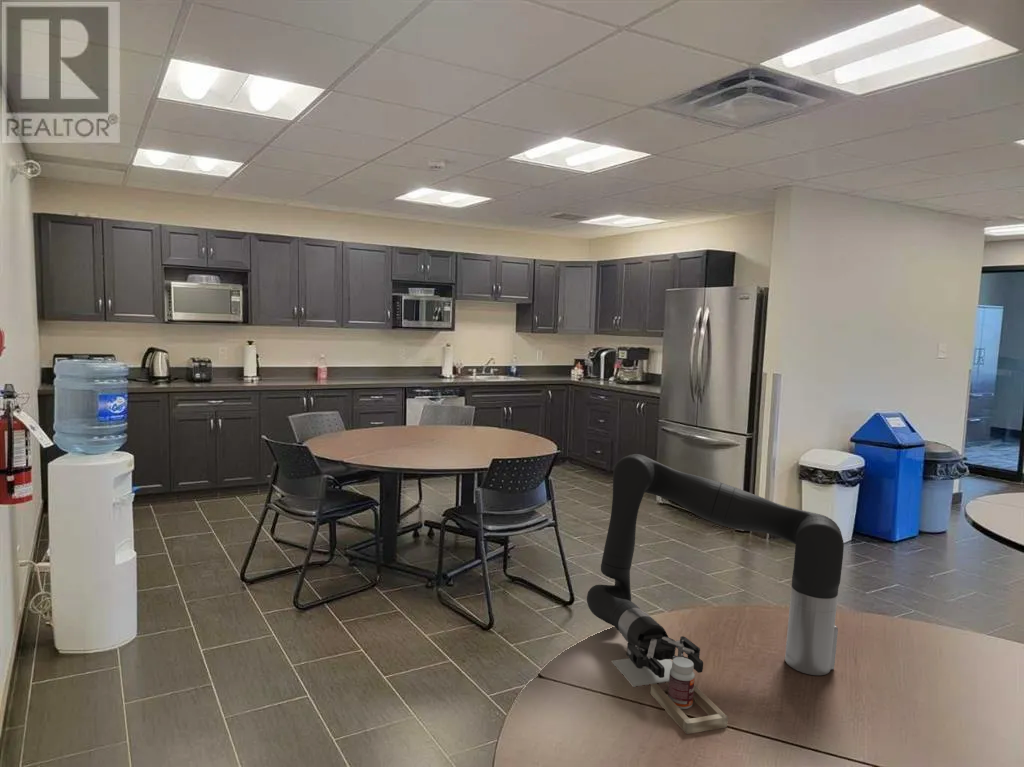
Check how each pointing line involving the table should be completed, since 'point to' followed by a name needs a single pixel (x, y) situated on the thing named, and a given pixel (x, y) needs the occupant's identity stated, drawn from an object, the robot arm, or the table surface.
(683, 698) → the pill bottle
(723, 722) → the wooden rectangular frame
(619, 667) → the mat
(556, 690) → the table surface
